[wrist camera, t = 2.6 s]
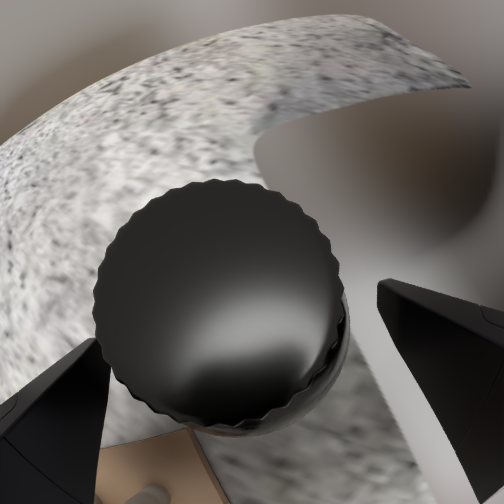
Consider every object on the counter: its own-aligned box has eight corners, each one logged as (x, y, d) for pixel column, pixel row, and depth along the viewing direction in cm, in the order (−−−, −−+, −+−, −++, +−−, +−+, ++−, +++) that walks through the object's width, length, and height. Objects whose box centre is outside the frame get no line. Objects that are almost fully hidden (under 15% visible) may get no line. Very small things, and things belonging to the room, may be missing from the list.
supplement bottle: (169, 341, 17) (16, 270, 6) (256, 265, 18) (228, 98, 7) (248, 431, 14) (193, 539, 3) (339, 347, 16) (461, 284, 5)
